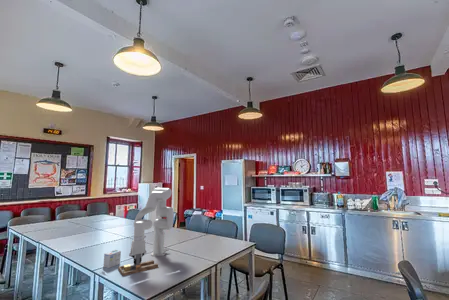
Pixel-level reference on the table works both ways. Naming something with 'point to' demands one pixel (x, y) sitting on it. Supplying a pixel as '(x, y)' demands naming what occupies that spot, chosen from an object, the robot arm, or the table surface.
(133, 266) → the dark gray cube
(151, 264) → the slot board
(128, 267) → the tan yellow cube
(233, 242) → the table surface
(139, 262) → the gray orange block
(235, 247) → the table surface
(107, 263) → the light bulb box
